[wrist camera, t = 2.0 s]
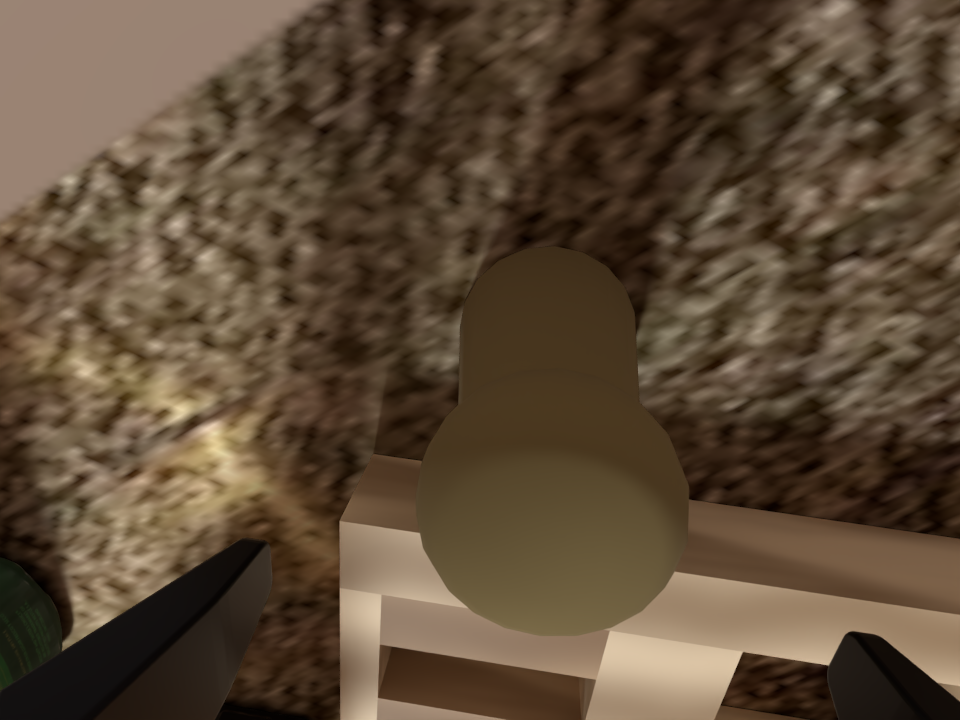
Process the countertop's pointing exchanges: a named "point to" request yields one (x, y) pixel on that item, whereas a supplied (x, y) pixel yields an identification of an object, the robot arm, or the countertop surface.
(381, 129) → the countertop surface
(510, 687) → the socket board
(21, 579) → the coffee jar
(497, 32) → the countertop surface
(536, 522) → the cork
